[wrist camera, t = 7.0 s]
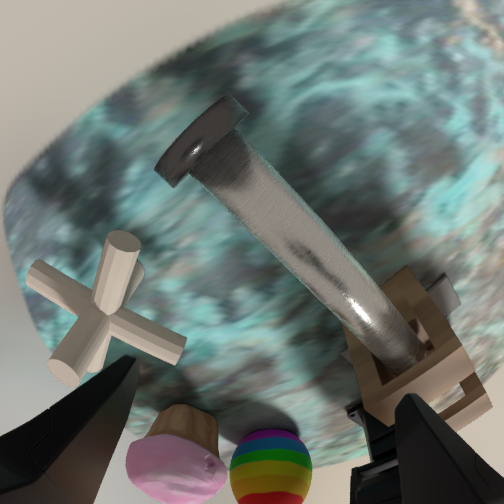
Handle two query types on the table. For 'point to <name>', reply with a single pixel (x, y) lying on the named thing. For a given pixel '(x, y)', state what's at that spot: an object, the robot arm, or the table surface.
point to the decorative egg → (270, 469)
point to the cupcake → (178, 457)
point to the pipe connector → (102, 311)
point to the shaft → (289, 230)
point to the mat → (441, 297)
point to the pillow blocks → (426, 371)
